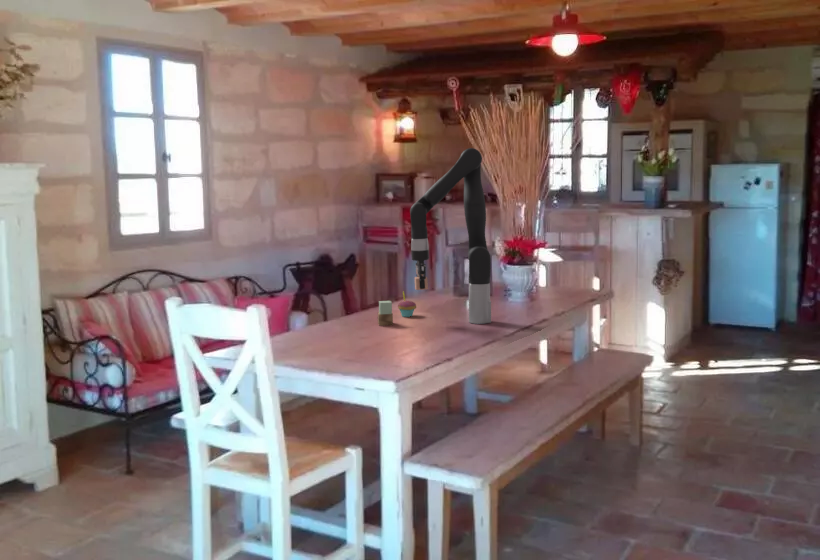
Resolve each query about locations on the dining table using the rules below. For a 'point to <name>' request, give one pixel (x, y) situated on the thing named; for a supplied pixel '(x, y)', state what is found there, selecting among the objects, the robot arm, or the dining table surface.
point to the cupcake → (406, 307)
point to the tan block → (417, 284)
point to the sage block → (385, 307)
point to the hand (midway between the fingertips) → (421, 287)
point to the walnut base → (385, 319)
